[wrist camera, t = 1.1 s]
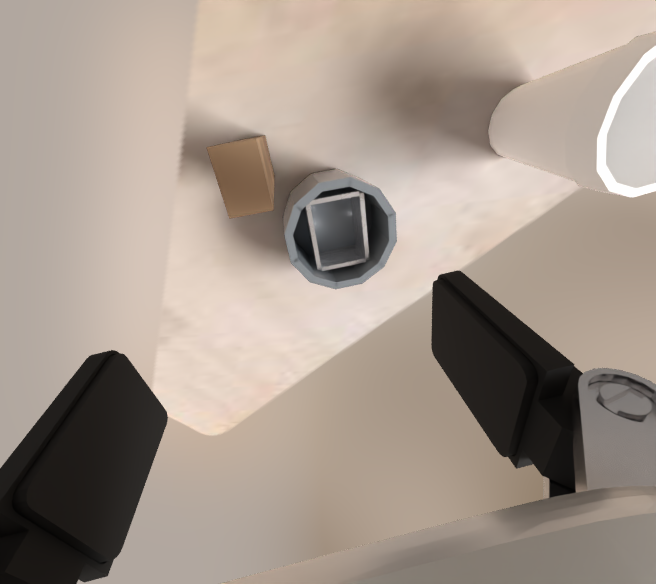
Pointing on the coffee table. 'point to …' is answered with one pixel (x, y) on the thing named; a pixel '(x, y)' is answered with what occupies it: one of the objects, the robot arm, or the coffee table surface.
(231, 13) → the coffee table surface
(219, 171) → the brown wooden bar
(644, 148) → the foam cup
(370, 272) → the faceted hollow tube
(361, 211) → the grey hollow box
